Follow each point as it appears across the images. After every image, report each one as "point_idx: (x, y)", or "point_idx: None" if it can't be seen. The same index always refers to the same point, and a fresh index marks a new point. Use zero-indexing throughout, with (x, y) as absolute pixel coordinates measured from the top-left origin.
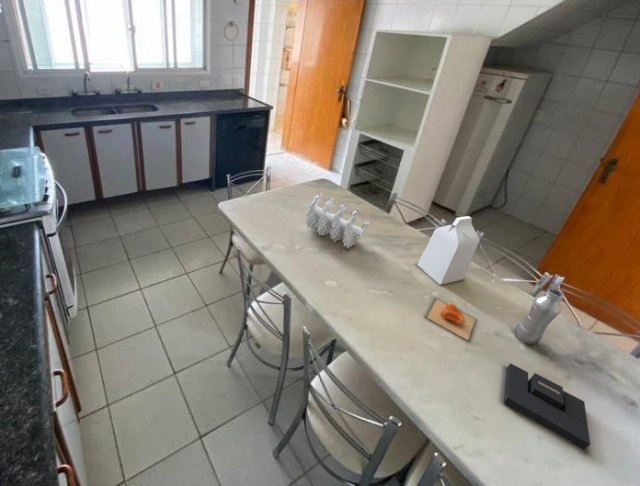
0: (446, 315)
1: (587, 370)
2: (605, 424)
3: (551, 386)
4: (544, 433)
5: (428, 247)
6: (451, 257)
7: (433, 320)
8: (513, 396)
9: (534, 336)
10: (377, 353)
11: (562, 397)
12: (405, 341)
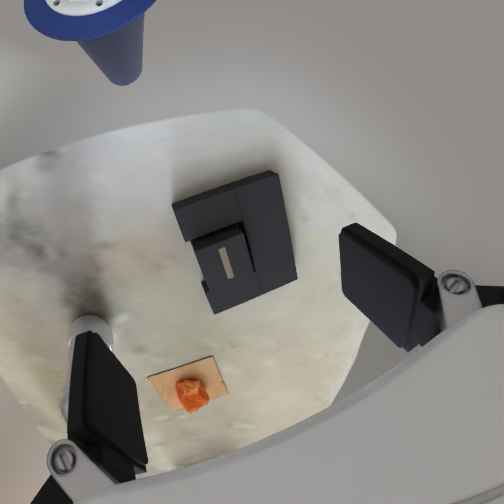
0: (207, 395)
1: (44, 233)
2: (168, 162)
3: (217, 262)
4: (293, 216)
5: None
6: (138, 478)
7: (224, 389)
8: (288, 276)
9: (104, 335)
10: (339, 362)
11: (226, 241)
12: (298, 370)
